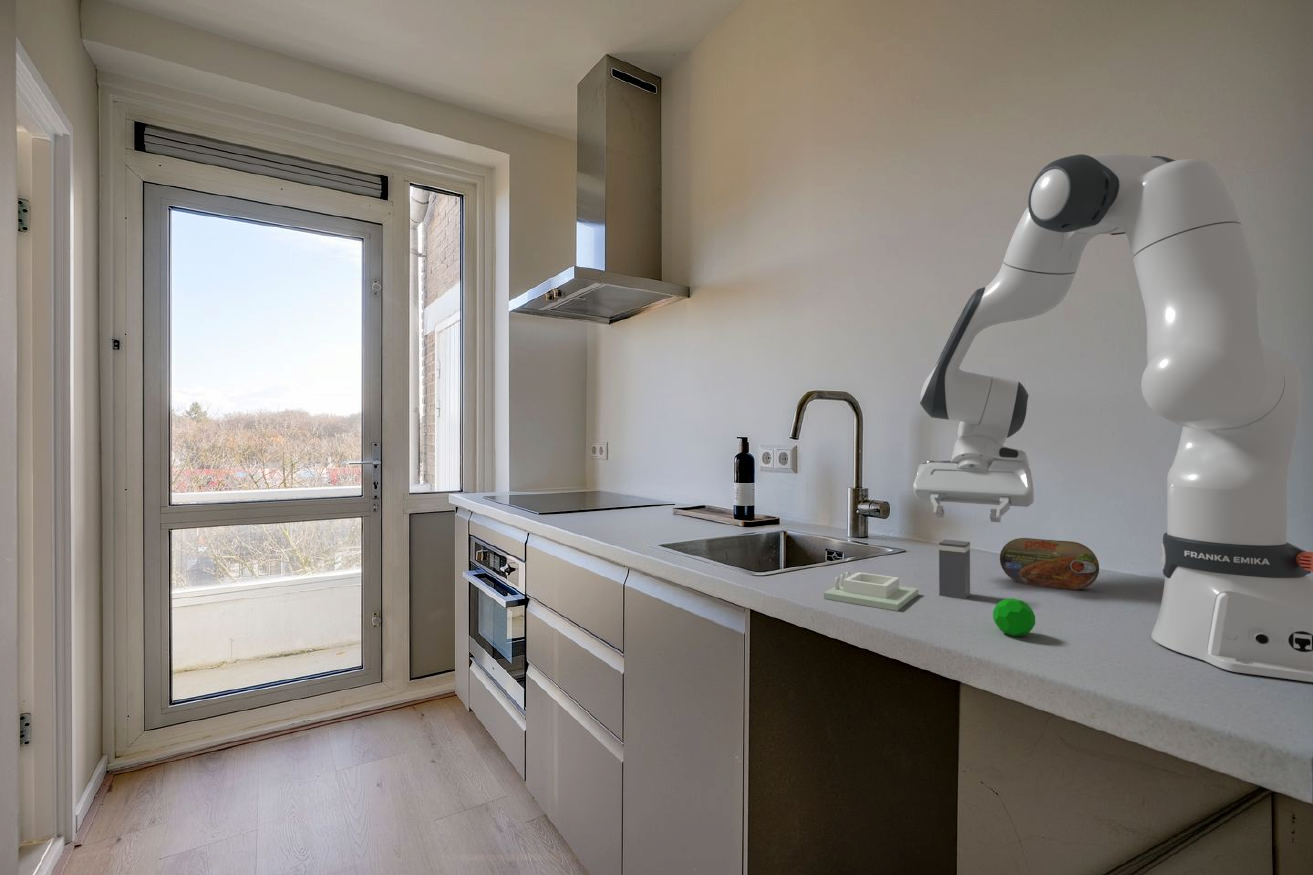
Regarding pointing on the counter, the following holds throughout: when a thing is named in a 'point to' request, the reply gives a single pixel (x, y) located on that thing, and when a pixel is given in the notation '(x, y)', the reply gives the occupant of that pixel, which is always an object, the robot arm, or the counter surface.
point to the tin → (1049, 563)
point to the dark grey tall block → (954, 569)
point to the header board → (871, 591)
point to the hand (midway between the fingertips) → (965, 518)
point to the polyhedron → (1014, 617)
